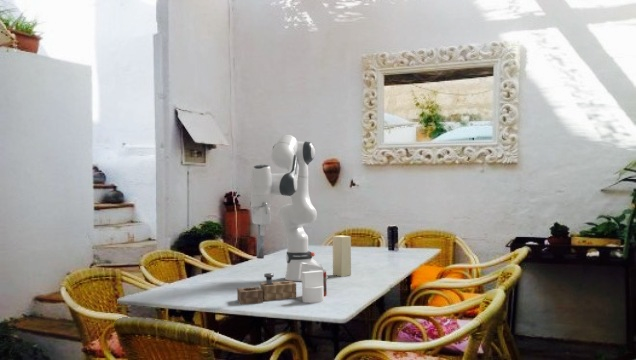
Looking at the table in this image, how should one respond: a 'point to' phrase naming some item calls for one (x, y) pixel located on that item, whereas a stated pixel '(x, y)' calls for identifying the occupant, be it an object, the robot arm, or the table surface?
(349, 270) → the tall beige block
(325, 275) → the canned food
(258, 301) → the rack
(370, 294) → the table surface
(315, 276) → the cylinder with rectangular tab
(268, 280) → the grey headed bolt
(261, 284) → the socket block
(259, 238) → the grey peg
